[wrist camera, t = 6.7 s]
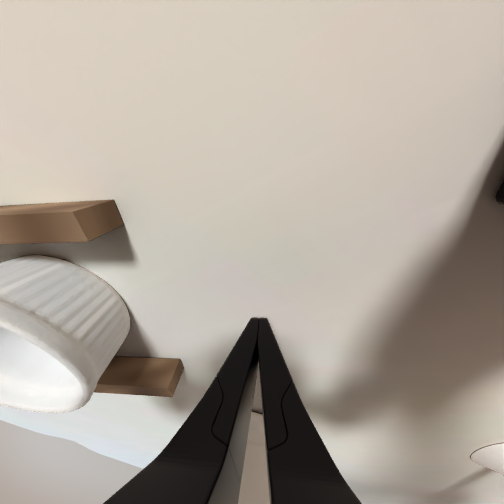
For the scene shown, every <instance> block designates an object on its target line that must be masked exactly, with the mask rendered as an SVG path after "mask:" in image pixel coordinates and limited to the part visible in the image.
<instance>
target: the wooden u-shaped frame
mask: <svg viewBox="0 0 504 504" xmlns="http://www.w3.org/2000/svg"><path fill="white" fill-rule="evenodd" d="M122 225H124V224H123V221H122V219H121V217H120V214H119V212H118V209H117V207H116V205H115V202H114V200H99V201H81V202H63V203H45V204H27V205H8V206H0V244H23V243H56V242H89V241H91V240H93V239H95V238H97V237H99V236H101V235H103V234H105V233H107V232H109V231H111V230H113V229H115V228H117V227H119V226H122ZM183 369H184V367H183V365H182V363H181V360H180V359H167V358H142V357H116V356H114V357H113V359H112V360H111V362H110V363H109V365H108V366H107V368H106V369H105V371H104V372H103V374H102V375H101V377H100V379H99V380H98V382H97V386H96V388H95V390H94V392H99V393H115V394H131V395H148V396H164V397H173V394H174V391H175V389H176V386H177V384H178V381H179V379H180V376H181V374H182V371H183Z"/></svg>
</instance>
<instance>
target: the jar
mask: <svg viewBox="0 0 504 504" xmlns="http://www.w3.org/2000/svg"><path fill="white" fill-rule="evenodd" d="M238 504H270V501H269V487H268V475H267V462H266V449H265V436H264V423H263V415H262V414H259V413H256V412H251V418H250V425H249V432H248V439H247V446H246V452H245V459H244V466H243V473H242V479H241V485H240V493H239V500H238Z"/></svg>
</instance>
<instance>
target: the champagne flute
mask: <svg viewBox="0 0 504 504" xmlns="http://www.w3.org/2000/svg"><path fill="white" fill-rule="evenodd" d="M471 459H472V460H473V461H474V462H476V463H478V464H480V465H482V466H484V467H486V468H489V469H491V470H493V471H495V472H497V473H500V474H502V475H504V443H502V444H496V445H492V446H488V447H485V448H482V449H479V450H477V451H476V452H474V453H473V454H472V455H471Z"/></svg>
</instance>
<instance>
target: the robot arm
mask: <svg viewBox="0 0 504 504" xmlns="http://www.w3.org/2000/svg"><path fill="white" fill-rule="evenodd" d="M496 201H497V202H498V203H499V204H503V205H504V181H503V183H502V185H501V186H500V188H499V190H498V192H497V195H496ZM258 363H259V371H260V384H261V397H262V410H263V423H264V436H265V449H266V462H267V475H268V487H269V501H270V504H362V503H361V502H360V501H359V499H358V498H357V497H356V495H355V494H354V493H353V491H352V490H351V488H350V487H349V486H348V484H347V483H346V481H345V480H344V478H343V477H342V475H341V473H340V472H339V470H338V468H337V467H336V465H335V463H334V462H333V460H332V458H331V456H330V454H329V452H328V451H327V449H326V447H325V445H324V443H323V441H322V439H321V438H320V436H319V434H318V432H317V430H316V428H315V426H314V425H313V423H312V421H311V419H310V417H309V415H308V413H307V411H306V409H305V407H304V405H303V403H302V401H301V398H300V396H299V394H298V392H297V389H296V387H295V384H294V382H293V380H292V377H291V375H290V373H289V370H288V368H287V365H286V363H285V360H284V358H283V356H282V353H281V351H280V348H279V346H278V343H277V341H276V339H275V336H274V334H273V331H272V329H271V326H270V324H269V322H268V319H267V318H260V319H259V318H251V319H250V321H249V323H248V324H247V326H246V328H245V329H244V331H243V333H242V334H241V336H240V337H239V339H238V341H237V342H236V344H235V346H234V347H233V349H232V351H231V352H230V354H229V356H228V357H227V359H226V361H225V362H224V364H223V366H222V367H221V369H220V371H219V372H218V374H217V377H215V379H214V380H213V382H212V384H211V385H210V387H209V388H208V390H207V392H206V393H205V395H204V396H203V398H202V399H201V401H200V402H199V403H198V405H197V406H196V408H195V409H194V410H193V412H192V413H191V414H190V416H189V417H188V418H187V420H186V421H185V422H184V424H183V425H182V426H181V428H180V429H179V430H178V432H177V433H176V434H175V436H174V437H173V438H172V440H171V441H170V442H169V444H168V445H167V446H166V447H165V449H164V450H163V451H162V452H161V453H160V454H159V455H158V456H157V457H156V458H155V459H154V460H153V461H152V462H151V463H150V464H149V465H148V466H147V467H145V468H144V469H143V470H142V471H141V472H140V473H138V474H137V475H136V476H135V477H134V478H133V479H131V480H130V481H129V482H128V483H127V484H125V485H124V486H123V487H122V488H121V489H120V490H119V491H117V492H116V493H115V494H114V495H113V496H112V497H110V498H109V499H108V500H107V501H106V502H104V503H103V504H238V500H239V493H240V485H241V479H242V473H243V466H244V459H245V452H246V446H247V439H248V432H249V425H250V418H251V412H252V405H253V398H254V391H255V384H256V378H257V371H258Z"/></svg>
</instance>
